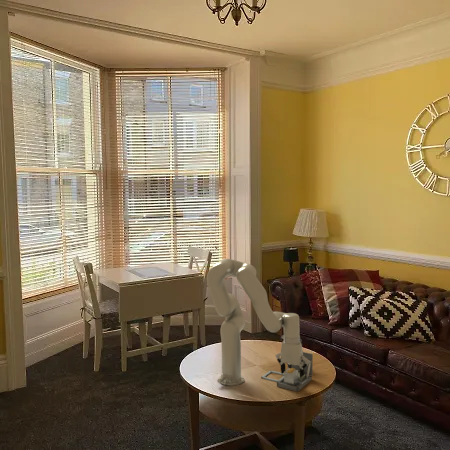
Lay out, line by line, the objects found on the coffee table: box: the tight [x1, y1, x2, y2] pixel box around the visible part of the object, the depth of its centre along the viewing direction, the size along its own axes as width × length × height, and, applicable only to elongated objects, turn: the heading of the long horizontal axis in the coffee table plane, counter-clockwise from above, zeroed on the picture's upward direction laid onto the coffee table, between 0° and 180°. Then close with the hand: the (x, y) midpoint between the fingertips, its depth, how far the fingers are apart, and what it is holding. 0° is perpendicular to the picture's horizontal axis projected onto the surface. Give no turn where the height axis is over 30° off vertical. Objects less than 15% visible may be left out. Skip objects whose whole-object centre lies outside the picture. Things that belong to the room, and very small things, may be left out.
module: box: [283, 367, 298, 387], centre depth 232 cm, size 5×5×8 cm
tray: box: [260, 370, 284, 383], centre depth 243 cm, size 10×10×1 cm
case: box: [276, 351, 314, 393], centre depth 235 cm, size 17×11×14 cm, turn 147°
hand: (292, 374), depth 232 cm, fingers open, 9 cm apart
